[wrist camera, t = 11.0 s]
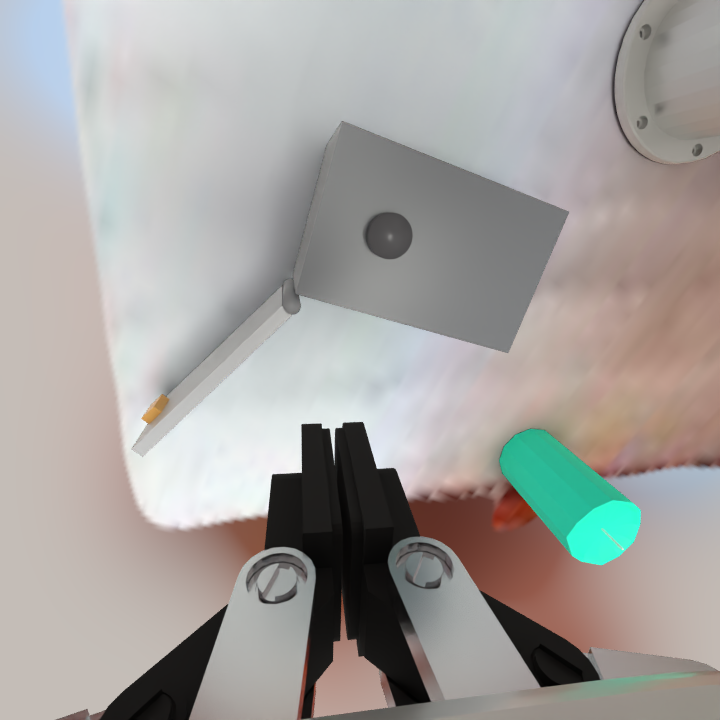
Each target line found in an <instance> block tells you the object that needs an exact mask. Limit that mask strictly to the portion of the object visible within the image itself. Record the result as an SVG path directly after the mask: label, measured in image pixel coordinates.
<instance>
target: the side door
mask: <svg viewBox="0 0 720 720" xmlns="http://www.w3.org/2000/svg"><path fill="white" fill-rule="evenodd" d="M300 308H301V304H300V299H299V295H298V294H296V293H295V286H294V280H293V279H286V280H285V281H284V283H283V286H281V287H280V288H279V289H278V290H277V291H276V292H275V293H274V294H273V295H271V296H270V297H269V298H268V299H267V300H266V301H265V302H264V303H263V304H262V305H261V306H260V307H259V308H258V309H257V310H256V311H255V312H254V313H253V314H252V315H251V316H250V317H249V318H248V319H246V320H245V321H244V322H243V323H242V324H241V325H240V326H239V327H238V328H237V329H236V330H235V331H234V332H233V333H232V334H231V335H230V336H229V337H228V338H227V339H226V340H225V341H224V342H223V343H221V344H220V345H219V346H218V347H217V348H216V349H215V350H214V351H213V352H212V353H211V354H210V355H209V356H208V357H207V358H206V359H205V360H204V361H203V362H202V363H201V364H200V365H199V366H198V367H196V368H195V369H194V370H193V371H192V372H191V373H190V374H189V375H188V376H187V377H186V378H185V379H184V380H183V381H182V382H181V383H180V384H179V385H178V386H177V387H176V388H175V389H174V390H172V391H171V392H170V393H169V394H168V395H167V396H164V395H163V394H162V395H161V396H160V397H159V398H158V399H157V400H156V401H154V402H153V403H152V404H151V405H150V407H149V408H148V410H147V411H146V413H145V414H144V415H143V417H142V418H141V419H143V420H144V421H145V422H147V423H148V424H147V426H146V427H145V429H144V430H143V432H142V433H141V435H140V437H139V438H138V440H137V441H136V443H135V444H134V446H133V447H132V450H133V451H135V452H136V453H138V454H139V455H141V456H142V457H143V456H144V455H145V454H146V453H147V452H148V451H149V450H150V449H152V448H153V447H154V446H155V445H156V444H157V443H158V442H159V441H160V440H161V439H162V438H163V437H164V436H165V435H166V434H167V433H168V432H169V431H171V430H172V429H173V428H174V427H175V426H176V425H177V424H178V423H179V422H180V421H181V420H182V419H183V418H184V417H185V416H186V415H187V414H189V413H190V412H191V411H192V410H193V409H194V408H195V407H196V406H197V405H198V404H199V403H200V402H201V401H202V400H203V399H204V398H205V397H206V396H208V395H209V394H210V393H211V392H212V391H213V390H214V389H215V388H216V387H217V386H218V385H219V384H220V383H221V382H222V381H223V380H224V379H226V378H227V377H228V376H229V375H230V374H231V373H232V372H233V371H234V370H235V369H236V368H237V367H238V366H239V365H240V364H241V363H242V362H243V361H245V360H246V359H247V358H248V357H249V356H250V355H251V354H252V353H253V352H254V351H255V350H256V349H257V348H258V347H259V346H260V345H261V344H263V343H264V342H265V341H266V340H267V339H268V338H269V337H270V336H271V335H272V334H273V333H274V332H275V331H276V330H277V329H278V328H279V327H280V326H282V325H283V324H284V323H285V322H286V321H287V320H288V319H289V318H290V317H291V316H292V315H293V314H296V313H298V312H299V310H300Z"/></svg>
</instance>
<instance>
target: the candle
mask: <svg viewBox="0 0 720 720" xmlns="http://www.w3.org/2000/svg"><path fill="white" fill-rule="evenodd" d="M499 462H500V466H501V470H502V474H503V475H504V476H505V477H506V478H507V479H508V481H509V482H510V483H511V484H512V485H513V487H514V488H515V489H516V490H517V491H518V492H519V494H520V495H521V496H522V497H523V498H524V500H525V501H526V502H527V503H528V504H529V505H530V507H531V508H532V509H533V510H534V511H535V513H536V514H537V515H538V516H539V517H540V518H541V519H542V521H543V522H544V523H545V524H546V526H547V527H548V528H549V529H550V530H551V531H552V533H553V534H554V535H555V536H556V537H557V539H558V540H559V541H560V542H561V543H562V544H563V546H564V547H565V548H566V549H567V550H568V551H569V553H570V554H571V555H572V556H573V557H575V558H577V559H578V560H580V561H581V562H587V563H592V564H598V565H603V564H605V563H607V562H609V561H611V560H613V559H615V558H617V557H619V556H620V555H621V554H622V553H623V552H624V551H625V550H626V549H627V548H628V547H629V546H630V545H631V544H632V543H633V542H634V540H635V537H636V535H637V532H638V529H639V526H640V517H641V513H640V512H641V510H640V509H639V508H638V507H637V506H635V504H633V503H632V502H631V501H630V500H629V499H627V498H626V497H625V496H624V495H623V494H621V493H620V492H619V491H618V490H617V489H615V488H614V487H613V486H612V485H611V484H609V483H608V482H607V481H606V480H604V479H603V478H602V477H601V476H600V475H598V474H597V473H596V472H595V471H594V470H592V469H591V468H590V467H589V466H588V465H586V464H585V463H584V462H583V461H581V460H580V459H579V458H578V457H577V456H575V455H574V454H573V453H572V452H571V451H569V450H568V449H567V448H566V447H565V446H563V445H562V444H561V443H560V442H558V441H557V440H556V439H555V438H554V437H552V436H551V435H550V434H549V433H548V432H546V431H545V430H539V429H528V430H526V431H523V432H521V433H518V434H516V435H515V436H514V437H513V438H512V439H511V440H510V441H509V442H508V443H507V444H506V445H505V446H504V448H503V451H502V454H501V457H500V460H499Z"/></svg>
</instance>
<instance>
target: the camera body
mask: <svg viewBox="0 0 720 720" xmlns="http://www.w3.org/2000/svg"><path fill="white" fill-rule="evenodd" d="M568 214H569V212H568V211H566V210H563V209H561V208H558V207H556V206H553V205H551V204H548V203H546V202H543V201H541V200H538V199H536V198H533V197H531V196H528V195H526V194H524V193H521V192H519V191H516V190H514V189H511V188H509V187H506V186H504V185H501V184H499V183H496V182H494V181H491V180H489V179H486V178H484V177H481V176H479V175H476V174H474V173H471V172H469V171H466V170H464V169H461V168H459V167H456V166H454V165H451V164H449V163H446V162H444V161H441V160H439V159H436V158H434V157H431V156H429V155H426V154H424V153H421V152H419V151H416V150H414V149H411V148H409V147H406V146H404V145H401V144H399V143H396V142H394V141H391V140H389V139H386V138H384V137H381V136H379V135H376V134H374V133H371V132H369V131H366V130H364V129H361V128H359V127H356V126H354V125H351V124H349V123H346V122H344V121H342V122H341V124H340V125H339V127H338V128H337V130H336V131H335V133H334V134H333V136H332V138H331V139H330V141H329V142H328V144H327V146H326V149H325V153H324V157H323V161H322V165H321V168H320V172H319V176H318V180H317V184H316V187H315V191H314V195H313V199H312V203H311V206H310V210H309V214H308V218H307V222H306V225H305V229H304V233H303V237H302V241H301V244H300V248H299V252H298V256H297V260H296V263H295V267H294V271H293V279H294V286H295V293H296V294H298V295H301V296H305V297H309V298H312V299H316V300H319V301H323V302H326V303H330V304H334V305H337V306H341V307H344V308H348V309H352V310H355V311H359V312H362V313H366V314H370V315H373V316H377V317H380V318H384V319H387V320H391V321H395V322H398V323H402V324H405V325H409V326H413V327H416V328H420V329H423V330H427V331H431V332H434V333H438V334H441V335H445V336H448V337H452V338H456V339H459V340H463V341H466V342H470V343H474V344H477V345H481V346H484V347H488V348H492V349H495V350H499V351H502V352H506V353H508V352H509V350H510V348H511V346H512V343H513V341H514V339H515V336H516V334H517V332H518V329H519V327H520V325H521V322H522V320H523V318H524V315H525V313H526V311H527V308H528V306H529V304H530V302H531V299H532V297H533V295H534V292H535V290H536V288H537V285H538V283H539V281H540V278H541V276H542V274H543V271H544V269H545V267H546V264H547V262H548V260H549V258H550V255H551V253H552V251H553V248H554V246H555V244H556V241H557V239H558V237H559V234H560V232H561V230H562V227H563V225H564V223H565V220H566V218H567V216H568Z"/></svg>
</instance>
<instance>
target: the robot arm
mask: <svg viewBox="0 0 720 720" xmlns="http://www.w3.org/2000/svg"><path fill="white" fill-rule="evenodd" d="M615 102H616V109H617V115H618V118H619V121H620V124H621V127H622V130H623V131H624V133H625V135H626V137H627V138H628V140H629V142H630V143H631V144H632V145H633V146H634V147H635V149H636V150H637V151H638V152H639V153H641V154H642V155H644V156H645V157H647V158H649V159H650V160H653V161H656V162H659V163H662V164H682V163H690V162H695V161H698V160H701V159H705V158H707V157H709V156H711V155H713V154H715V153H717V152H719V151H720V0H644V2H643V3H642V5H641V6H640V8H639V9H638V11H637V12H636V14H635V16H634V17H633V19H632V21H631V23H630V26H629V28H628V30H627V32H626V34H625V36H624V39H623V43H622V46H621V49H620V52H619V56H618V61H617V67H616V73H615ZM341 593H342V596H343V604H344V613H345V623H346V631H347V638H348V640H351V639H356V640H357V647H358V655H359V656H364V657H365V658H366V659H367V660H369V661H370V662H371V663H372V664H374V665H375V666H376V667H377V668H378V669H379V675H380V681H381V686H382V689H383V692H384V695H385V698H386V702H387V705H388V708H383V709H376V710H368V711H361V712H353V713H346V714H339V715H331V716H324V717H317V718H313V715H314V705H315V695H316V681H317V680H318V679H319V678H320V676H321V675H322V674H323V672H324V671H325V670H326V669H327V668H328V666H329V665H330V664H331V663H332V661H333V642H334V641H340V626H341ZM56 720H720V671H718V670H716V669H714V668H712V667H710V666H709V665H707V664H704V663H700V662H696V661H693V660H687V659H680V658H672V657H664V656H656V655H648V654H640V653H632V652H624V651H617V650H608V649H601V648H592V647H590V650H589V652H588V653H582V652H581V651H580V650H579V649H578V648H577V647H575V646H574V645H573V644H571V643H570V642H568V641H567V640H566V639H564V638H562V637H560V636H559V635H557V634H555V633H553V632H552V631H550V630H548V629H546V628H545V627H543V626H541V625H539V624H538V623H536V622H534V621H532V620H531V619H529V618H527V617H525V616H524V615H522V614H520V613H519V612H517V611H515V610H513V609H512V608H510V607H508V606H506V605H505V604H503V603H501V602H499V601H498V600H496V599H494V598H492V597H490V596H489V595H487V594H485V593H484V592H482V591H480V590H478V588H477V587H476V585H475V584H474V582H473V580H472V579H471V577H470V576H469V574H468V573H467V571H466V570H465V568H464V566H463V565H462V564H461V562H460V560H459V559H458V557H457V556H456V555H455V554H454V552H453V551H452V550H451V549H450V548H449V547H447V546H446V545H444V544H443V543H441V542H439V541H437V540H434V539H432V538H426V537H420V535H419V532H418V529H417V526H416V523H415V521H414V518H413V515H412V512H411V510H410V507H409V504H408V501H407V499H406V496H405V493H404V490H403V488H402V485H401V482H400V479H399V476H398V474H397V471H396V469H394V468H386V469H377V468H376V464H375V461H374V457H373V454H372V451H371V447H370V444H369V440H368V437H367V433H366V430H365V427H364V423H363V422H350V423H343V426H342V428H336V429H335V466H334V458H333V451H332V443H331V436H330V429H322V424H302V473H290V474H273V475H272V480H271V490H270V500H269V510H268V521H267V531H266V541H265V550H264V551H262V552H260V553H258V554H257V555H255V556H253V557H252V558H251V559H250V560H249V561H248V562H247V563H246V564H245V565H244V566H243V568H242V570H241V572H240V574H239V575H238V578H237V581H236V584H235V587H234V590H233V593H232V596H231V599H230V602H229V604H227V605H226V606H225V607H224V608H223V609H221V610H220V611H219V612H218V613H217V614H215V615H214V616H213V617H212V618H211V619H209V620H208V621H207V622H206V623H205V624H203V625H202V626H201V627H200V628H199V629H198V630H196V631H195V632H194V633H193V634H191V635H190V636H189V637H188V638H187V639H186V640H184V641H183V642H182V643H181V644H179V645H178V646H177V647H176V648H175V649H173V650H172V651H171V652H170V653H169V654H168V655H166V656H165V657H164V658H163V659H161V660H160V661H159V662H158V663H157V664H155V665H154V666H153V667H152V668H151V669H149V670H148V671H147V672H146V673H145V674H143V675H142V676H141V677H140V678H139V679H138V680H136V681H135V682H134V683H133V684H131V685H130V686H129V687H128V688H127V689H125V690H124V691H123V692H122V693H121V694H120V695H119V696H118V697H117V698H116V699H115V700H114V701H113V702H112V703H111V704H110V705H109V706H108V708H107V709H106V710H104V711H102V712H99V713H96V714H93V715H90V716H89V712H88V709H86V710H83V711H80V712H77V713H74V714H71V715H68V716H66V717H62V718H59V719H56Z"/></svg>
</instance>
